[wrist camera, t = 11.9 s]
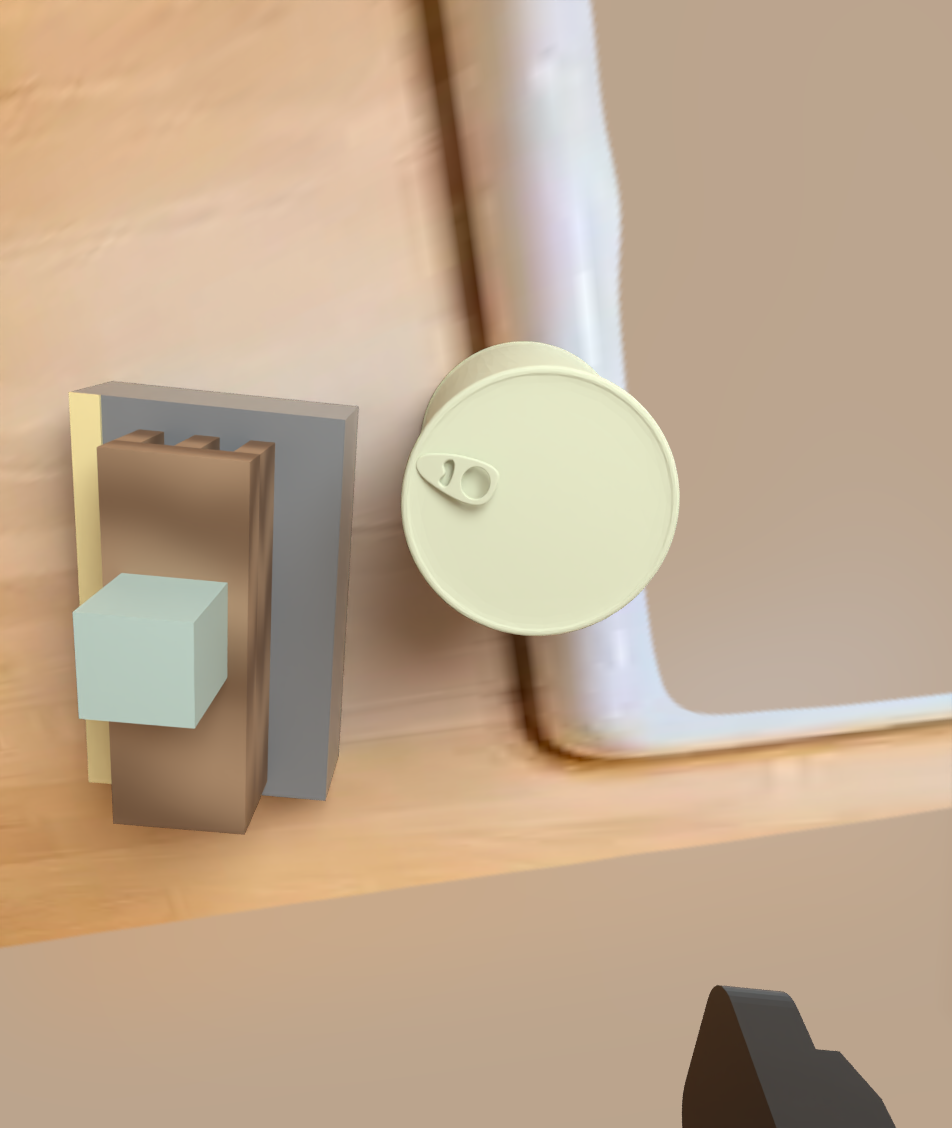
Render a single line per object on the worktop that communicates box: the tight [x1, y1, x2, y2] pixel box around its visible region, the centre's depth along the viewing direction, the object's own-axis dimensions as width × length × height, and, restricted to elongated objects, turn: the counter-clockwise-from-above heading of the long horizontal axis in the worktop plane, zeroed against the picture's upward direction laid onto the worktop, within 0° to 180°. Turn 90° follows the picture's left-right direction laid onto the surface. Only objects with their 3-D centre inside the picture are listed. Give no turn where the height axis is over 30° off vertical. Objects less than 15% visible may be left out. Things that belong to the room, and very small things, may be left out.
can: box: [401, 341, 679, 636], centre depth 32 cm, size 9×9×12 cm
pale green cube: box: [73, 573, 228, 729], centre depth 30 cm, size 4×4×4 cm
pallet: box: [97, 429, 275, 834], centre depth 34 cm, size 16×6×4 cm, turn 174°
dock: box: [69, 381, 359, 801], centre depth 38 cm, size 18×11×4 cm, turn 174°
